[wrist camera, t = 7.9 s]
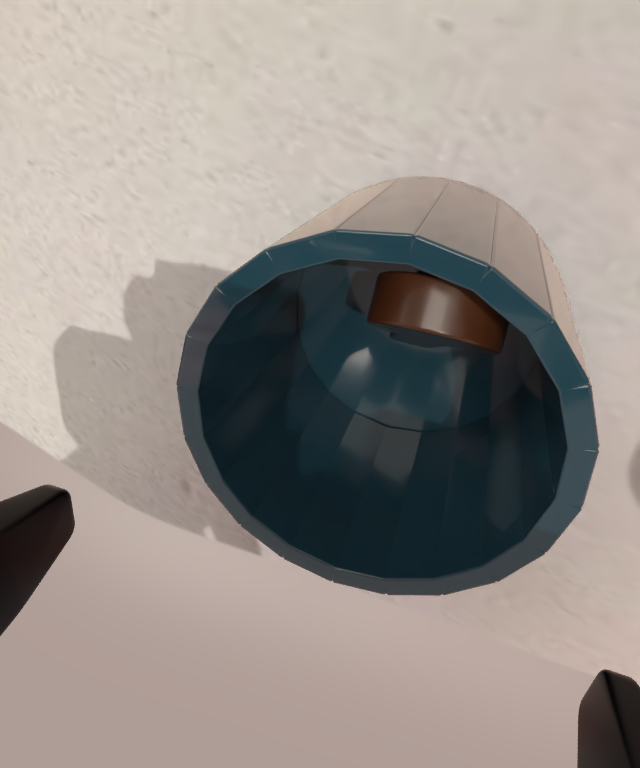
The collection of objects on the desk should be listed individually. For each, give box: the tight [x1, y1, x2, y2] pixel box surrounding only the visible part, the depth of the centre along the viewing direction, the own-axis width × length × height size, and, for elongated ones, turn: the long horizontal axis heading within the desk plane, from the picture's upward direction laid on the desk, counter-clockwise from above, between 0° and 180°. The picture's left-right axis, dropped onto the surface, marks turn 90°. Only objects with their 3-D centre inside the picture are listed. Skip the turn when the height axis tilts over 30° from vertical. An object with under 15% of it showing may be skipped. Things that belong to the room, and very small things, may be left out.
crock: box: [177, 177, 599, 595], centre depth 16 cm, size 10×10×8 cm
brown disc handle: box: [367, 271, 510, 355], centre depth 15 cm, size 7×3×1 cm
